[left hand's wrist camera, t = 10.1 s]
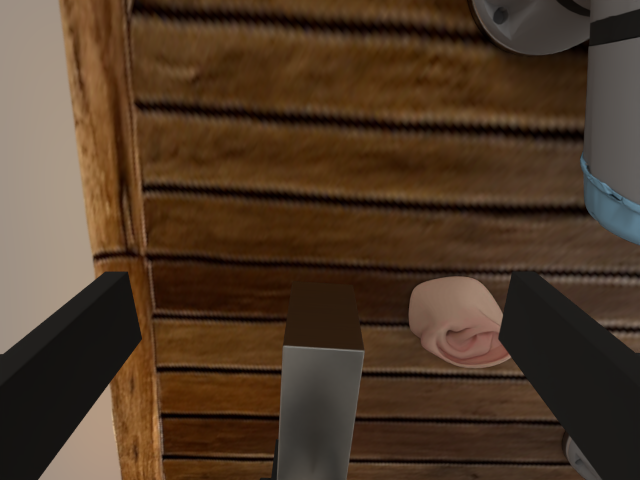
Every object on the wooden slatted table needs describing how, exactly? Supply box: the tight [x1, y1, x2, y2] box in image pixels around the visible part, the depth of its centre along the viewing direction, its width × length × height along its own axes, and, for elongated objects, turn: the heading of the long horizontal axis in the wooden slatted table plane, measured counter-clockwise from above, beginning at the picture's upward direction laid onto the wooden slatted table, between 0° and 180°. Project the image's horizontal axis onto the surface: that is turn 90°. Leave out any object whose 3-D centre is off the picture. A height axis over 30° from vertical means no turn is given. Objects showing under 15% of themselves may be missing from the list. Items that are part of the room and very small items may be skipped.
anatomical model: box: [409, 276, 511, 368], centre depth 45 cm, size 13×4×12 cm
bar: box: [277, 281, 365, 480], centre depth 30 cm, size 22×5×8 cm, turn 176°
